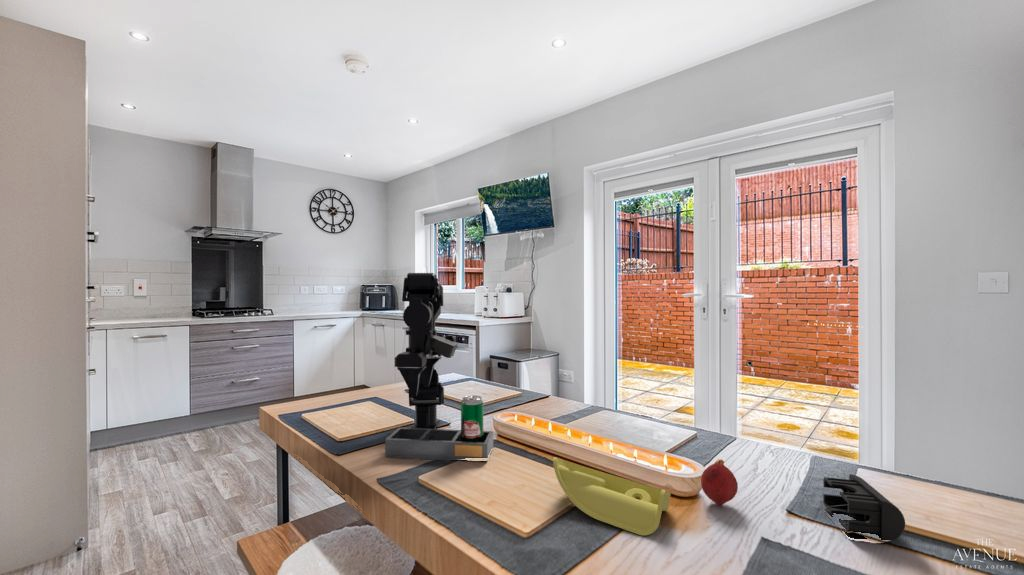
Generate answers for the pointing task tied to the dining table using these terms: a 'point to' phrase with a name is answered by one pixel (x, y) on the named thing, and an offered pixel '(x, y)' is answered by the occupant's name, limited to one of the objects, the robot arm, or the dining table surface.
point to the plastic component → (612, 497)
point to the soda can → (472, 419)
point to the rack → (435, 444)
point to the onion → (719, 483)
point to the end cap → (863, 509)
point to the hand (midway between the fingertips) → (420, 391)
